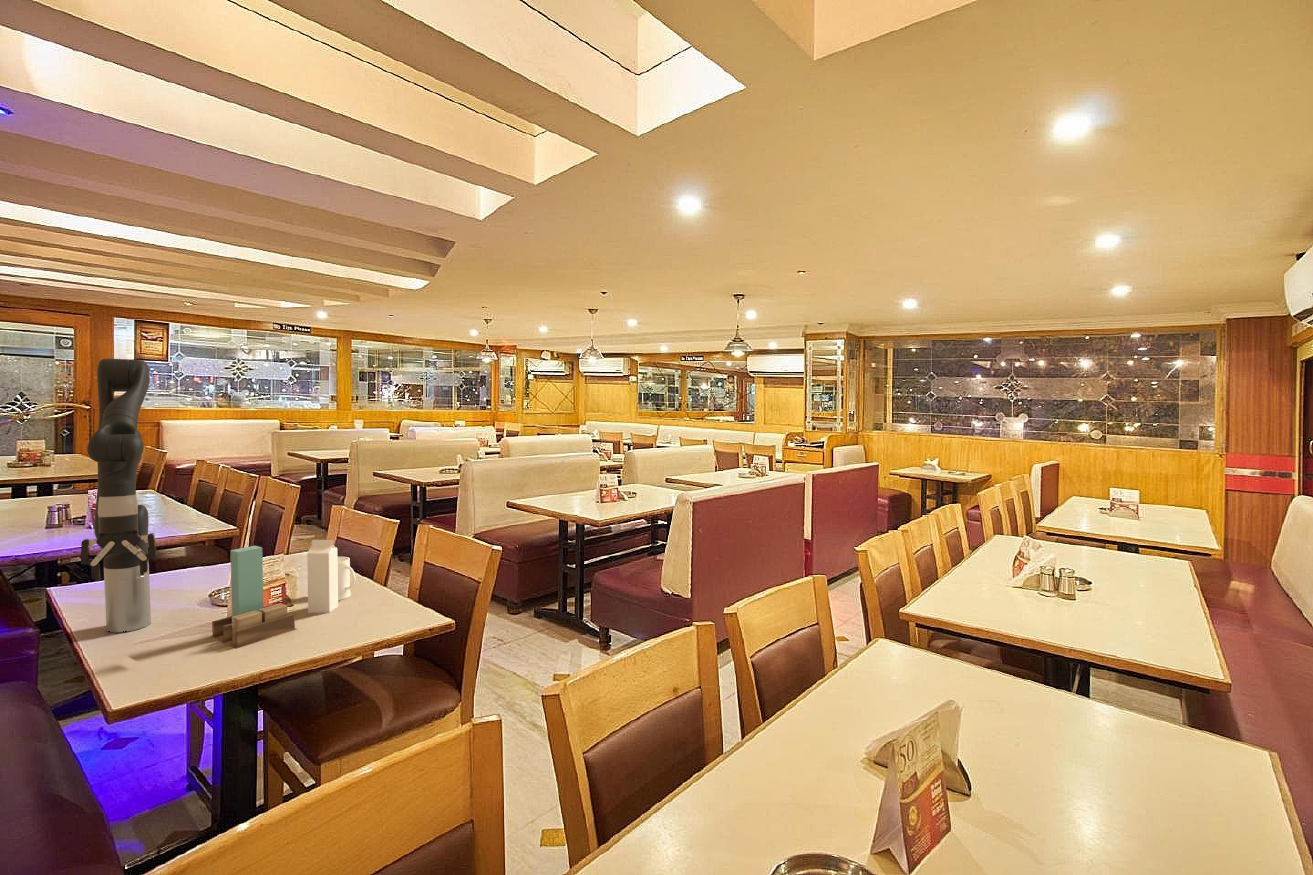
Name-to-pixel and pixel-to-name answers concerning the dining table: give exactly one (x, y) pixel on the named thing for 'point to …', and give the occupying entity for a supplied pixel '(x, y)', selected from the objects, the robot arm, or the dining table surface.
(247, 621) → the offcut
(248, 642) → the rack
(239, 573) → the teal rectangular block
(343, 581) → the mug
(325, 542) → the milk
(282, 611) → the offcut
